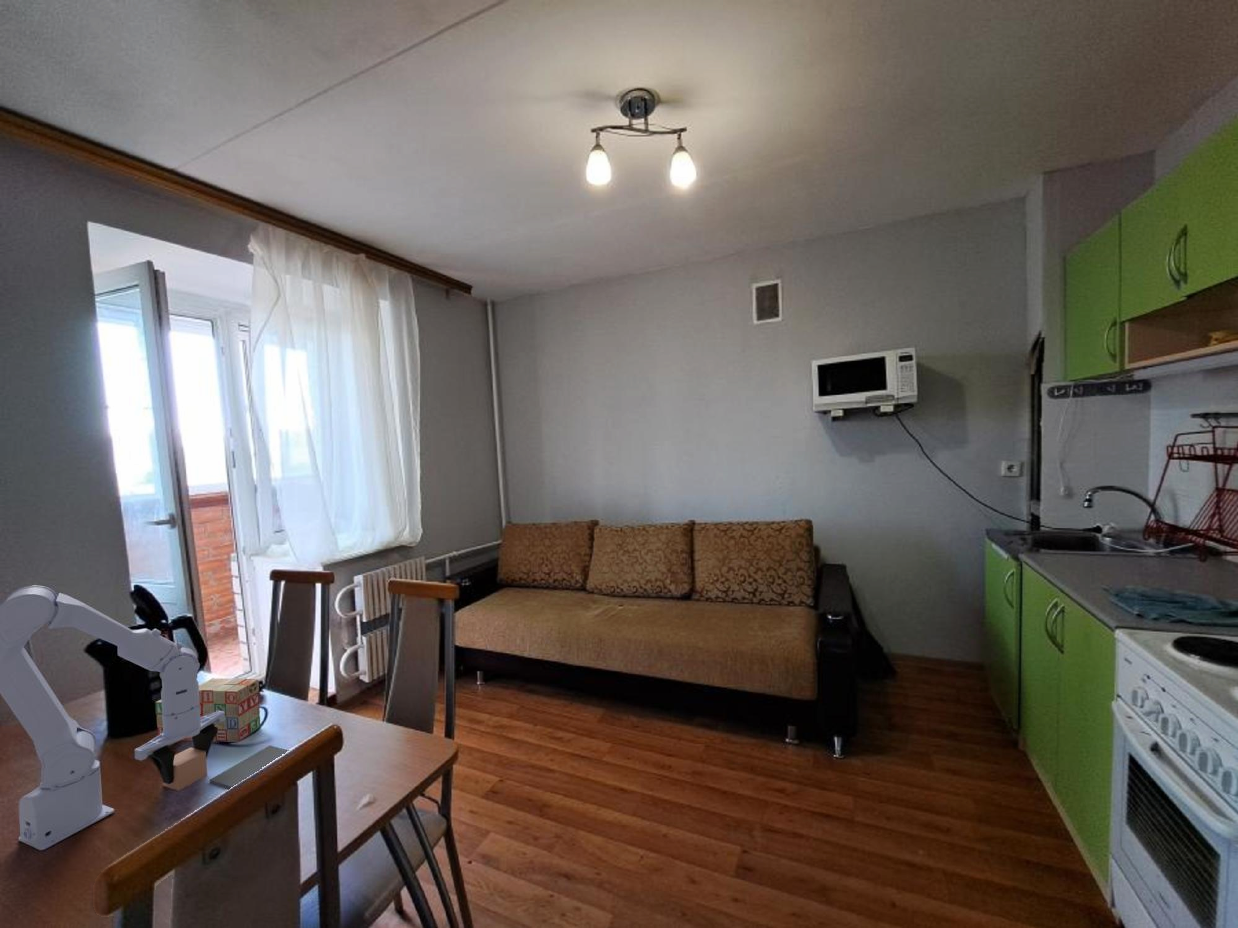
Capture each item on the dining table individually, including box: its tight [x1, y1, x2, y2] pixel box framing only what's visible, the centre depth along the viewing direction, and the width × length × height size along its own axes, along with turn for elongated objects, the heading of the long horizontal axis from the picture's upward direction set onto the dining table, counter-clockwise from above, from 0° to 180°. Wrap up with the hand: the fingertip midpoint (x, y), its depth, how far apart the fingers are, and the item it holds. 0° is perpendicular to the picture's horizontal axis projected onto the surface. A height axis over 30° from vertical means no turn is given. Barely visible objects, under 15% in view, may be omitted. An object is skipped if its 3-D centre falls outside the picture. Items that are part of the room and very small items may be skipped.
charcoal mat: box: [209, 745, 289, 790], centre depth 102 cm, size 12×12×1 cm
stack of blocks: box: [154, 677, 261, 743], centre depth 116 cm, size 21×6×12 cm, turn 85°
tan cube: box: [162, 747, 208, 792], centre depth 99 cm, size 5×5×5 cm
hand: (184, 773), depth 99 cm, fingers closed on tan cube, 5 cm apart
